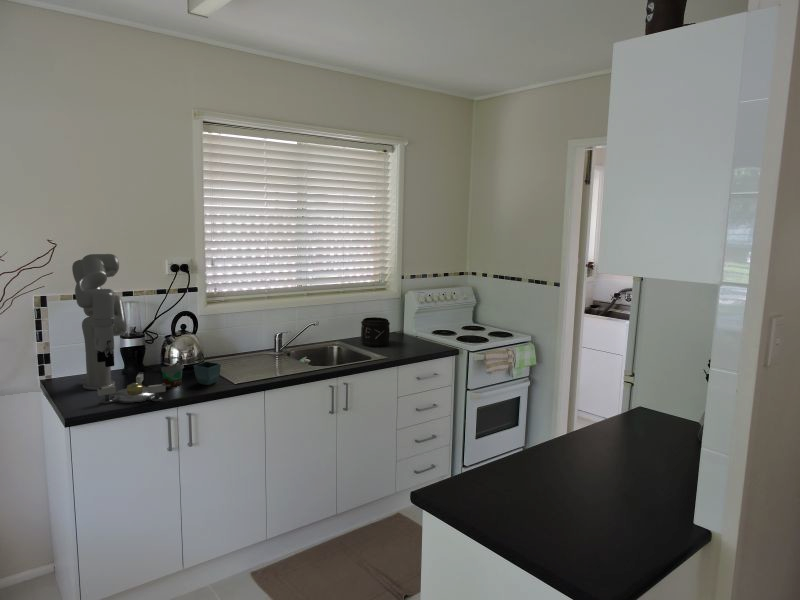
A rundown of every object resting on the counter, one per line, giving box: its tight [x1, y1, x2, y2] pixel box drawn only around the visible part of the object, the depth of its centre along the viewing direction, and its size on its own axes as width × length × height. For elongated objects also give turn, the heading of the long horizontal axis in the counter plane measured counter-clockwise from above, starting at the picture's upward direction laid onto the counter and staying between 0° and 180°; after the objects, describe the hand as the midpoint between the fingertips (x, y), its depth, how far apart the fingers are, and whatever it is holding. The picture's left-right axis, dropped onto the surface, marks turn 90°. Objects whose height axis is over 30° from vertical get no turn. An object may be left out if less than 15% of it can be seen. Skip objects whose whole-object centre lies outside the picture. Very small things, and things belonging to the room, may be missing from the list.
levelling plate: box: [100, 382, 164, 405], centre depth 241 cm, size 21×24×6 cm
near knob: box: [96, 385, 117, 400], centre depth 233 cm, size 6×2×6 cm, turn 134°
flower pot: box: [193, 361, 222, 386], centre depth 263 cm, size 9×9×9 cm
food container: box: [161, 360, 185, 389], centre depth 259 cm, size 12×6×10 cm, turn 168°
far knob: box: [147, 382, 167, 398], centre depth 238 cm, size 6×2×6 cm, turn 121°
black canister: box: [360, 316, 391, 348], centre depth 354 cm, size 18×18×16 cm
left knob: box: [135, 372, 144, 385], centre depth 252 cm, size 6×2×6 cm, turn 14°
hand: (105, 364), depth 231 cm, fingers open, 9 cm apart
